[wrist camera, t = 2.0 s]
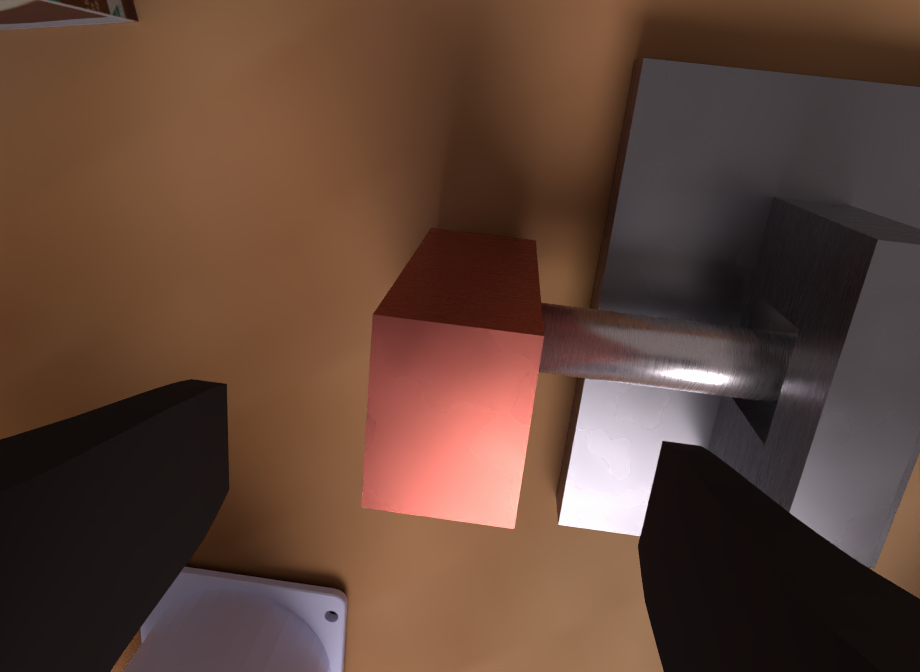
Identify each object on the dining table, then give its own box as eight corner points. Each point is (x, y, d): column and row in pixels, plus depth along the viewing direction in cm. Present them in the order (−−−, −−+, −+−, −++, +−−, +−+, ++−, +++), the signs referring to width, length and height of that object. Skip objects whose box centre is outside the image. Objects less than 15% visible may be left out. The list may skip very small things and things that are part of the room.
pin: (419, 356, 21) (361, 507, 13) (431, 227, 19) (372, 314, 12) (867, 414, 20) (1075, 606, 12) (913, 285, 19) (1177, 415, 11)
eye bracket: (555, 498, 23) (569, 659, 16) (634, 60, 18) (697, 42, 12) (852, 539, 23) (987, 721, 16) (1014, 100, 18) (1302, 105, 11)
